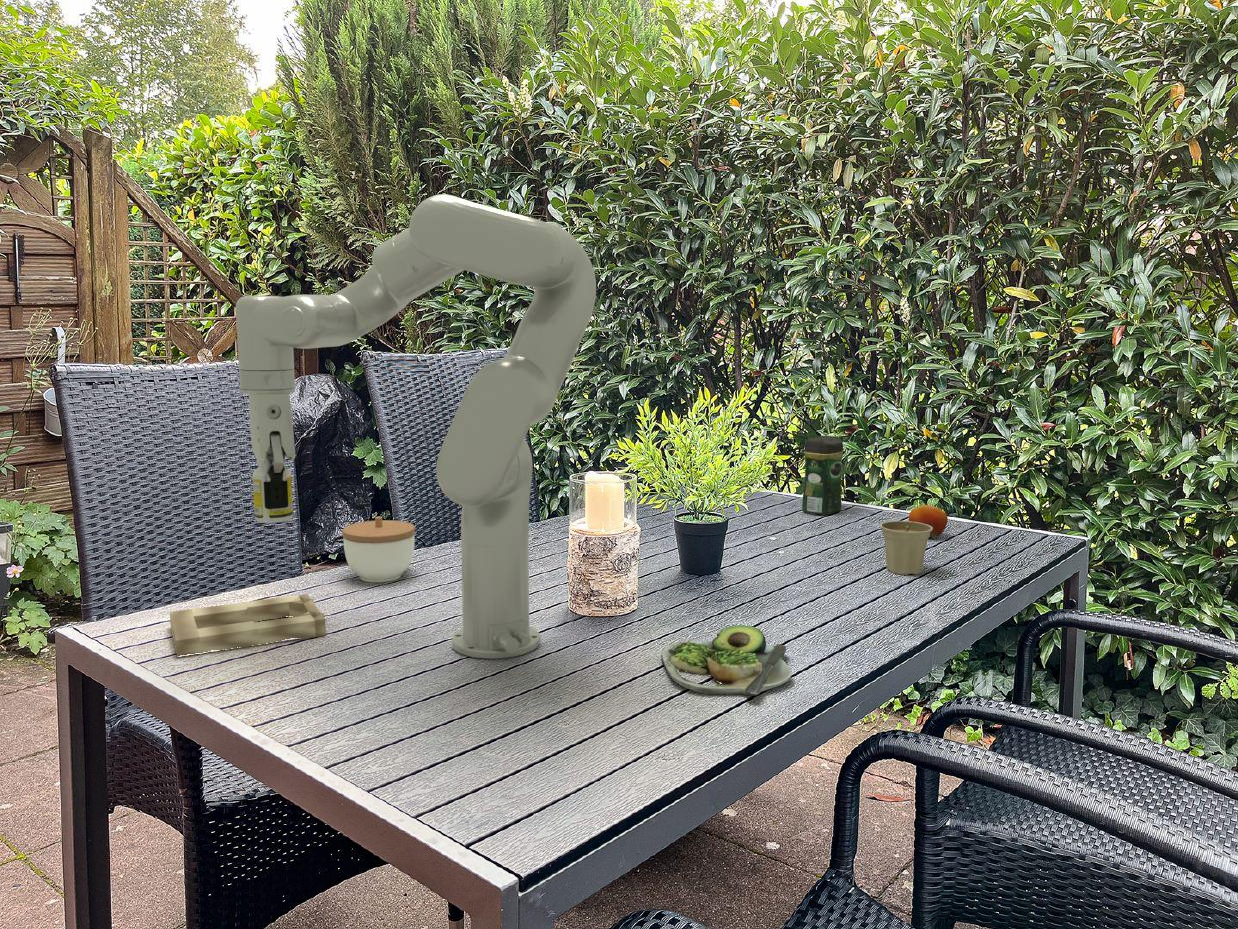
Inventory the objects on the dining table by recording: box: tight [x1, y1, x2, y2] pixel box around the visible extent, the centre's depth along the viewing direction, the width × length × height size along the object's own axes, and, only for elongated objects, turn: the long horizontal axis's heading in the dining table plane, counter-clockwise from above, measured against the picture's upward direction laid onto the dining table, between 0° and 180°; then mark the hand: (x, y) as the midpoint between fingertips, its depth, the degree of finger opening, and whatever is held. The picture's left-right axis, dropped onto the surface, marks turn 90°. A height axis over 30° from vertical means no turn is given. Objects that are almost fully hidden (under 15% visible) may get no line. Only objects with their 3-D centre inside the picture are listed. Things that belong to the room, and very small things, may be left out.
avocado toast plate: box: [660, 624, 792, 696], centre depth 125 cm, size 19×18×5 cm
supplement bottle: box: [251, 455, 294, 524], centre depth 139 cm, size 5×5×10 cm
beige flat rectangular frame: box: [169, 593, 327, 657], centre depth 140 cm, size 20×14×2 cm
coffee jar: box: [801, 435, 844, 516], centre depth 226 cm, size 10×8×19 cm
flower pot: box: [879, 520, 933, 576], centre depth 175 cm, size 9×9×9 cm
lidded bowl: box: [342, 516, 416, 584], centre depth 168 cm, size 13×13×11 cm
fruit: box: [908, 504, 949, 541], centre depth 203 cm, size 8×8×8 cm
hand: (273, 502), depth 139 cm, fingers closed on supplement bottle, 5 cm apart
